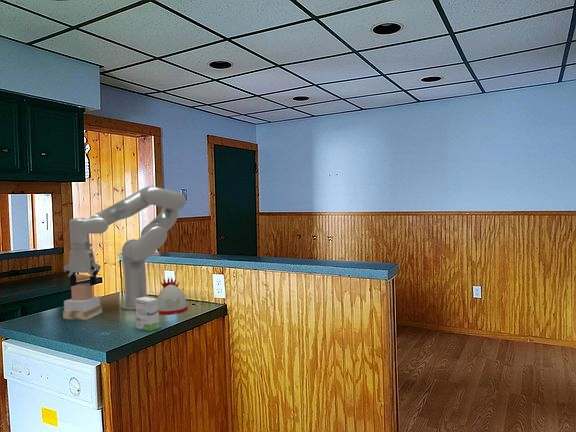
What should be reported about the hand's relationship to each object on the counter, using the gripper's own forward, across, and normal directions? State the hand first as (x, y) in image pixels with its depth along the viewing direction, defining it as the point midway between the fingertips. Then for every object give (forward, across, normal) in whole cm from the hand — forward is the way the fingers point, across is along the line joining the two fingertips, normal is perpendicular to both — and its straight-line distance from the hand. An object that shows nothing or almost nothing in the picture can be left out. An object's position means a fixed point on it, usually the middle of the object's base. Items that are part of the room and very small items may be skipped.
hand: (83, 285), depth 184 cm
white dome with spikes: (+14, -35, -10) cm, 40 cm away
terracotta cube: (+6, 0, 0) cm, 6 cm away
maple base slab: (+14, +1, +1) cm, 14 cm away
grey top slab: (+10, +1, +1) cm, 10 cm away
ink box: (+14, -37, +15) cm, 43 cm away
